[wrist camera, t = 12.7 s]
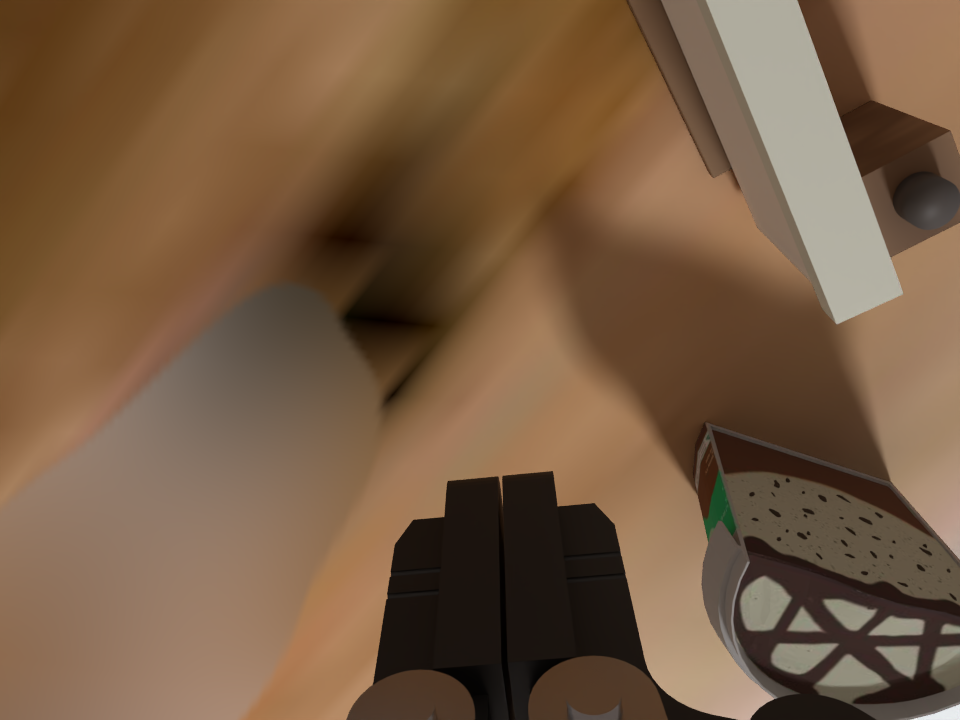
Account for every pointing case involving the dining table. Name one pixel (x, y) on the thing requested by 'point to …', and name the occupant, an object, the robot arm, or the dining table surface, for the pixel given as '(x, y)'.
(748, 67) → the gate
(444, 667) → the robot arm
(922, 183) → the latch post
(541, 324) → the dining table surface
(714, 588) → the food container
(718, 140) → the sill
